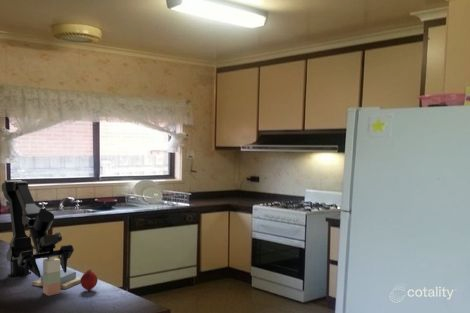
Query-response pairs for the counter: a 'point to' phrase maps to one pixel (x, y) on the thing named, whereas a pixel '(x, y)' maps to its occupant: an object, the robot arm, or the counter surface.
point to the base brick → (64, 276)
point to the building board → (63, 285)
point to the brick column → (51, 276)
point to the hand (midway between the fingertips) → (53, 274)
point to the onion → (89, 280)
